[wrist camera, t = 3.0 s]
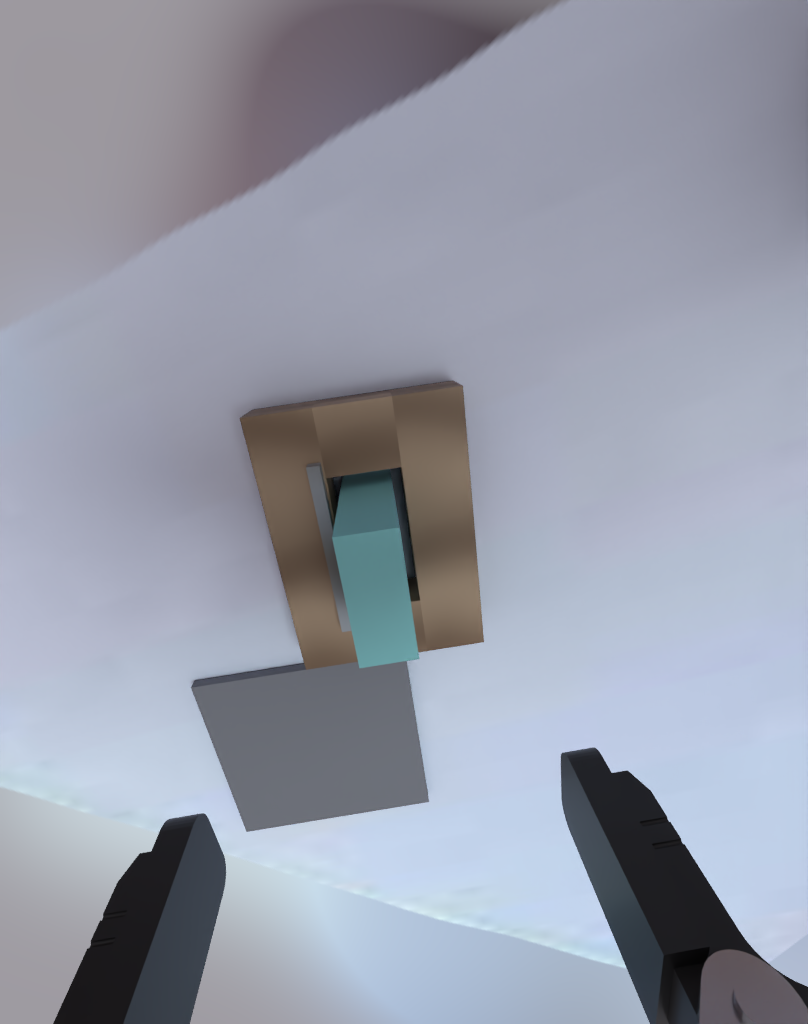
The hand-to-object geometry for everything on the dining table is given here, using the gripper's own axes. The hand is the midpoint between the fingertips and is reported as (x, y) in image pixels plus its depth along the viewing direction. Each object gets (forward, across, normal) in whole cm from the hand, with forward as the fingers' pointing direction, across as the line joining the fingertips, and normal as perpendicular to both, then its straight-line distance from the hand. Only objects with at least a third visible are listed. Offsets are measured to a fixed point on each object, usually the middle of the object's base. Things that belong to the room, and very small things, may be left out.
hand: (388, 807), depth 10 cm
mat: (+16, +6, +15) cm, 23 cm away
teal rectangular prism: (+16, 0, 0) cm, 16 cm away
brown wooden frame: (+16, 0, 0) cm, 16 cm away
